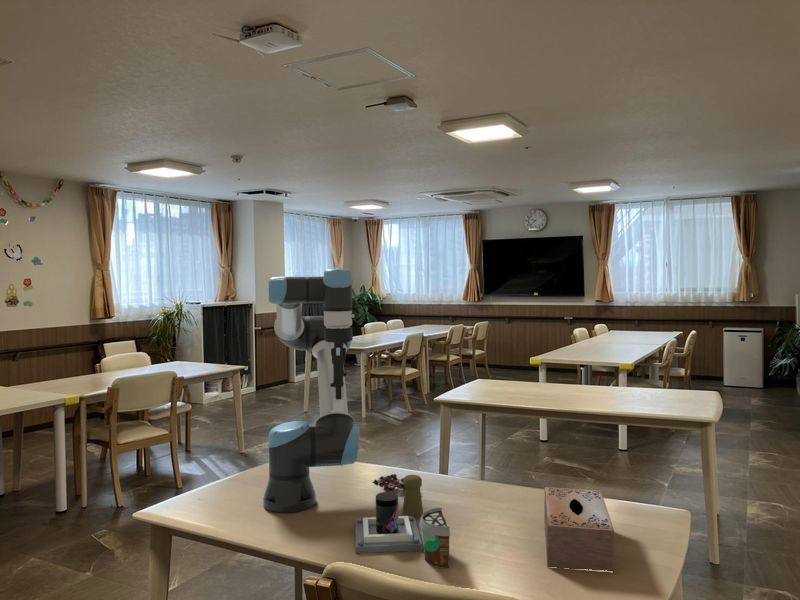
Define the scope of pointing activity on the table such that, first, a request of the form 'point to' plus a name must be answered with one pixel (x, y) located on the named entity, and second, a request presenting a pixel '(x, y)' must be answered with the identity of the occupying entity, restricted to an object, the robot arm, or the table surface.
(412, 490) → the cork
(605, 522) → the tissue box cover
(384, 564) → the table surface
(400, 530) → the base plate
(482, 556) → the table surface
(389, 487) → the toy collection
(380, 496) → the supplement container
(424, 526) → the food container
